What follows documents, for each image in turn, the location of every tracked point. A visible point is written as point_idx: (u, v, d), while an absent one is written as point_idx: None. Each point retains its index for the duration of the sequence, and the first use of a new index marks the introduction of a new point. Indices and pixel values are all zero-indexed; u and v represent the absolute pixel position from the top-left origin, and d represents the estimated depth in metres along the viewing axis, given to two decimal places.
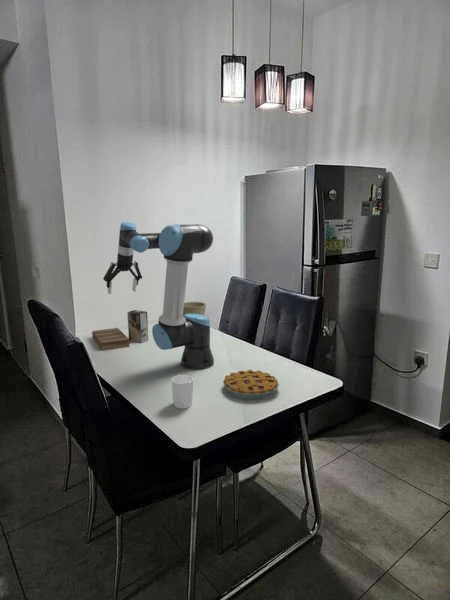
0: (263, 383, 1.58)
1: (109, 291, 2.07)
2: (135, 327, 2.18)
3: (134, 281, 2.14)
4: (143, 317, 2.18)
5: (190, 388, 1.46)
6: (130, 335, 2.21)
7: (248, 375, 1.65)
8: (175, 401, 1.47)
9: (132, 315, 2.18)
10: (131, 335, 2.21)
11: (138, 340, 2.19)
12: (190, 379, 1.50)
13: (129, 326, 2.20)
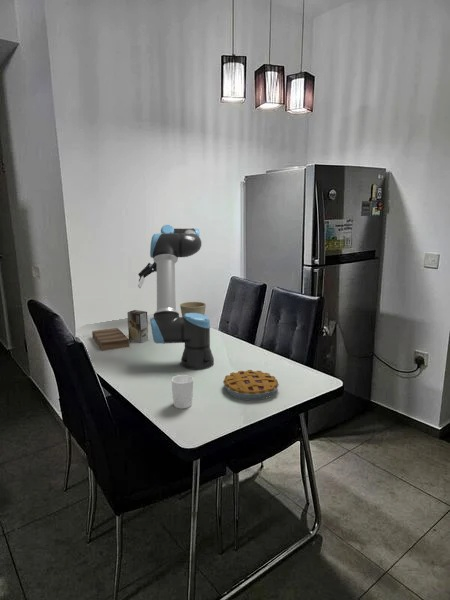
0: (263, 383, 1.58)
1: None
2: (135, 327, 2.18)
3: None
4: (143, 317, 2.18)
5: (190, 388, 1.46)
6: (130, 335, 2.21)
7: (248, 375, 1.65)
8: (175, 401, 1.47)
9: (132, 315, 2.17)
10: (131, 335, 2.21)
11: (138, 340, 2.19)
12: (190, 379, 1.50)
13: (129, 326, 2.20)
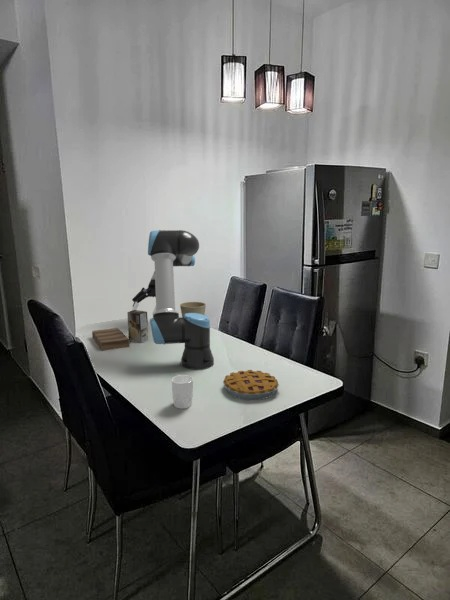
0: (263, 383, 1.58)
1: (132, 309, 2.29)
2: (135, 327, 2.18)
3: None
4: (143, 317, 2.18)
5: (190, 388, 1.46)
6: (130, 335, 2.21)
7: (248, 375, 1.65)
8: (175, 401, 1.47)
9: (132, 315, 2.17)
10: (131, 335, 2.21)
11: (138, 340, 2.19)
12: (190, 379, 1.50)
13: (129, 326, 2.20)
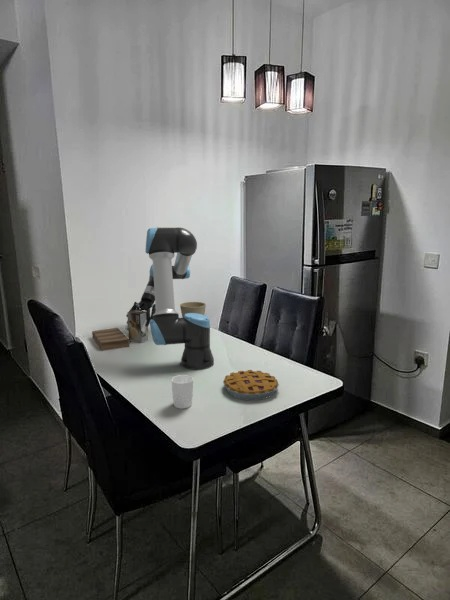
0: (263, 383, 1.58)
1: None
2: (135, 327, 2.18)
3: None
4: (143, 317, 2.18)
5: (190, 388, 1.46)
6: (130, 335, 2.21)
7: (248, 375, 1.65)
8: (175, 401, 1.47)
9: (132, 315, 2.17)
10: (131, 335, 2.21)
11: (138, 340, 2.19)
12: (190, 379, 1.50)
13: (129, 326, 2.20)
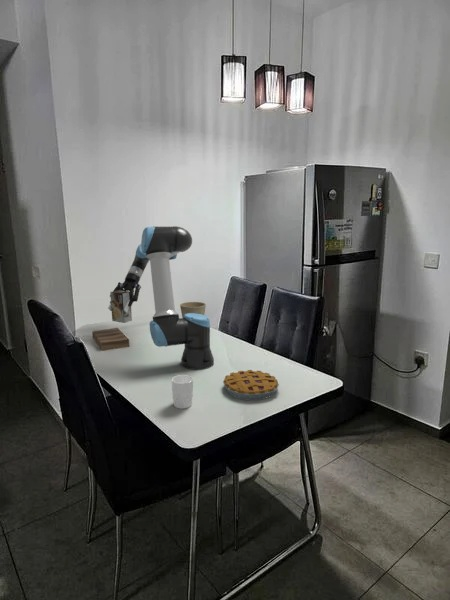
0: (263, 383, 1.58)
1: (109, 306, 2.17)
2: (117, 307, 2.15)
3: None
4: (126, 296, 2.15)
5: (190, 388, 1.46)
6: (113, 315, 2.18)
7: (248, 375, 1.65)
8: (175, 401, 1.47)
9: (115, 295, 2.14)
10: (114, 315, 2.18)
11: (121, 320, 2.16)
12: (190, 379, 1.50)
13: (112, 306, 2.17)
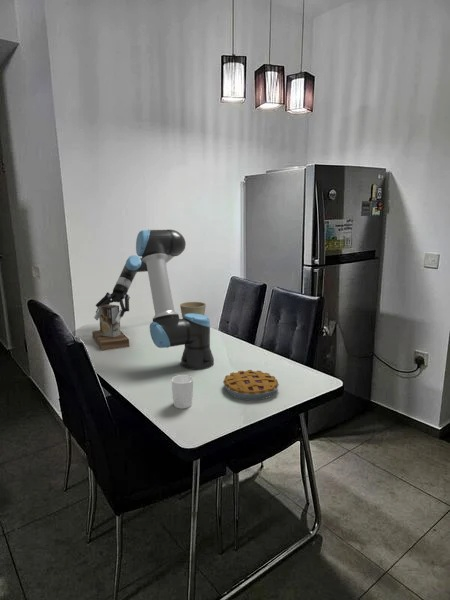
0: (263, 383, 1.58)
1: (95, 315, 2.17)
2: (106, 322, 2.14)
3: None
4: (115, 311, 2.14)
5: (190, 388, 1.46)
6: (102, 330, 2.17)
7: (248, 375, 1.65)
8: (175, 401, 1.47)
9: (103, 309, 2.13)
10: (102, 329, 2.16)
11: (110, 335, 2.15)
12: (190, 379, 1.50)
13: (100, 320, 2.16)
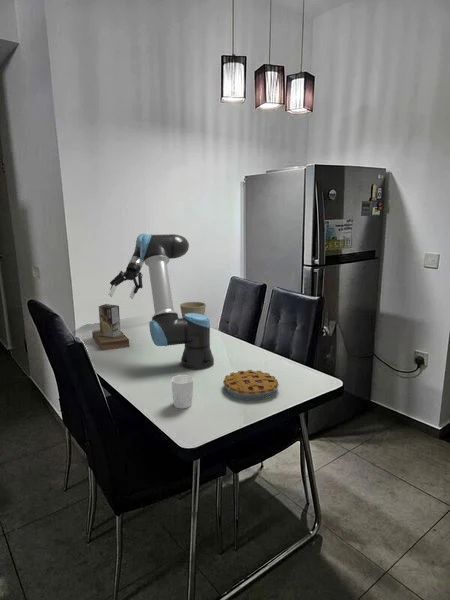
0: (263, 383, 1.58)
1: None
2: (106, 322, 2.14)
3: None
4: (115, 311, 2.14)
5: (190, 388, 1.46)
6: (102, 330, 2.17)
7: (248, 375, 1.65)
8: (175, 401, 1.47)
9: (103, 309, 2.13)
10: (102, 329, 2.16)
11: (110, 335, 2.15)
12: (190, 379, 1.50)
13: (100, 320, 2.16)
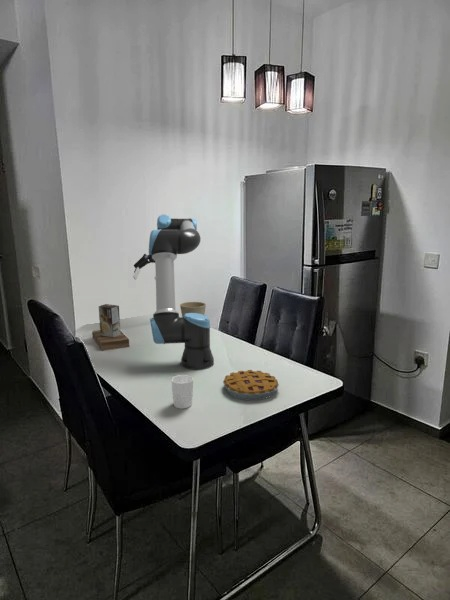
0: (263, 383, 1.58)
1: (134, 274, 2.26)
2: (106, 322, 2.14)
3: None
4: (115, 311, 2.14)
5: (190, 388, 1.46)
6: (102, 330, 2.17)
7: (248, 375, 1.65)
8: (175, 401, 1.47)
9: (103, 309, 2.13)
10: (102, 329, 2.16)
11: (110, 335, 2.15)
12: (190, 379, 1.50)
13: (100, 320, 2.16)
